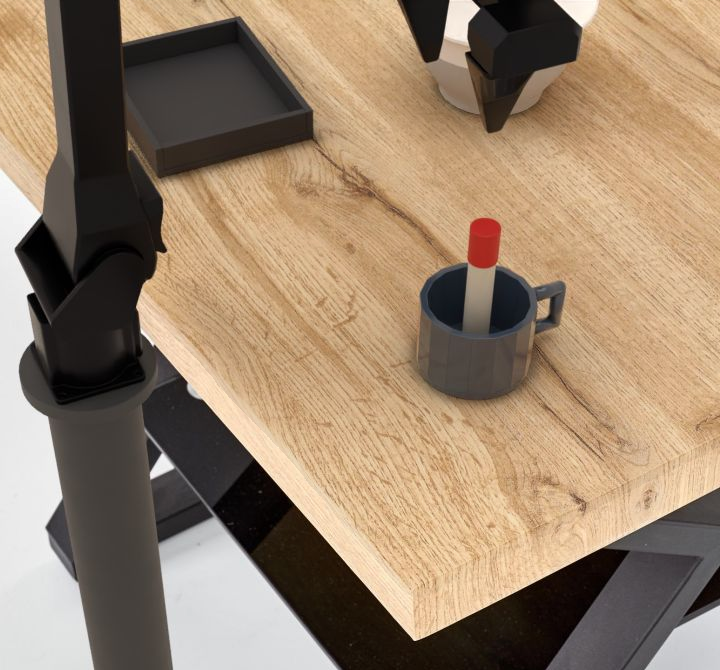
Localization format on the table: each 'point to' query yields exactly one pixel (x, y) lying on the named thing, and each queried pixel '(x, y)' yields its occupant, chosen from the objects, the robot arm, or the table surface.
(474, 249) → the marker
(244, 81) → the tray
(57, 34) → the robot arm
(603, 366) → the table surface
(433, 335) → the mug
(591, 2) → the bowl
